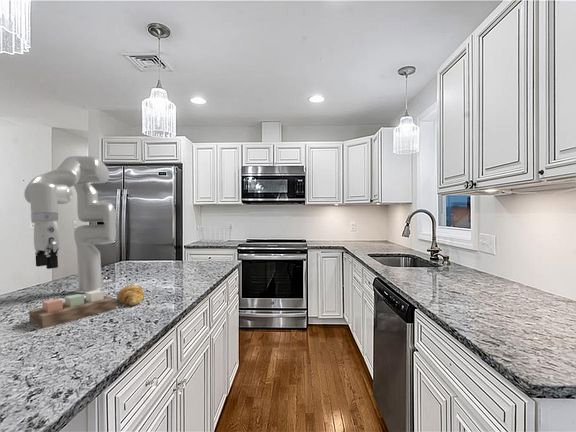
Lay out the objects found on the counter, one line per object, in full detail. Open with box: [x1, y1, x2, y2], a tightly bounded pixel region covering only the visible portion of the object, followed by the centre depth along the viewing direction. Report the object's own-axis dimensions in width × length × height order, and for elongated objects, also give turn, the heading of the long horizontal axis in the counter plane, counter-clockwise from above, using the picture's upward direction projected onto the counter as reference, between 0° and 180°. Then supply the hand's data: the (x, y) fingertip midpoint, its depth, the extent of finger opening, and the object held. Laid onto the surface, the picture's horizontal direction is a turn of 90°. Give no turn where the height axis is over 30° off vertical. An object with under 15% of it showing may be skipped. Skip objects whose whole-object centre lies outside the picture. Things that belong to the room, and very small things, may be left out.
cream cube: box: [84, 290, 105, 302], centre depth 127 cm, size 4×4×4 cm
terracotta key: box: [41, 298, 64, 313], centre depth 115 cm, size 4×4×4 cm
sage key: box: [64, 293, 85, 307], centre depth 121 cm, size 4×4×4 cm
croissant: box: [116, 283, 145, 306], centre depth 138 cm, size 21×10×8 cm, turn 31°
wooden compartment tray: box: [28, 295, 117, 329], centre depth 121 cm, size 24×12×4 cm, turn 145°
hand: (46, 267), depth 115 cm, fingers open, 9 cm apart
